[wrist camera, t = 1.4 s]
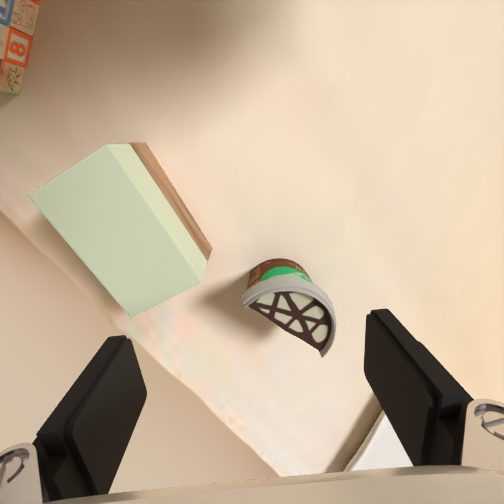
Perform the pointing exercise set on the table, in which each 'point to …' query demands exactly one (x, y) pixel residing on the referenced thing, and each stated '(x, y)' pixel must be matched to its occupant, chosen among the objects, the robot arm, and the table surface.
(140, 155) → the tower base slab
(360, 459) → the square plate
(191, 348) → the table surface
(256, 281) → the food container
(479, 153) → the table surface
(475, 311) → the table surface
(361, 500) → the robot arm
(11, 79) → the stack of blocks
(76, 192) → the tower top slab
